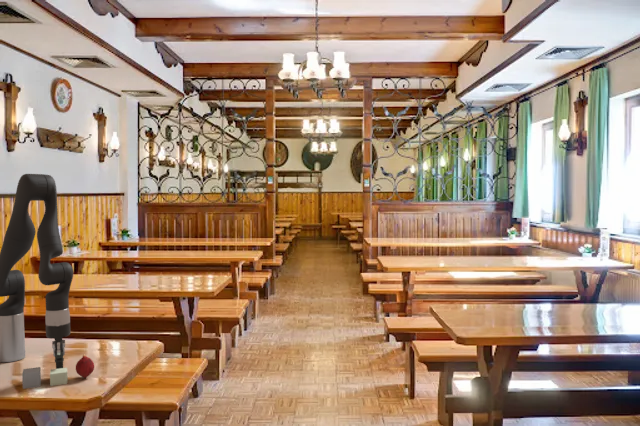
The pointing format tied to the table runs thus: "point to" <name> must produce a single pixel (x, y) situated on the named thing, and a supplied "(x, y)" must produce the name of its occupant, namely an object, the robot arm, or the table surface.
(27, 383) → the slate block
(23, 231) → the robot arm
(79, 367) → the onion
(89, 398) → the table surface
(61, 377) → the sage block
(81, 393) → the table surface
